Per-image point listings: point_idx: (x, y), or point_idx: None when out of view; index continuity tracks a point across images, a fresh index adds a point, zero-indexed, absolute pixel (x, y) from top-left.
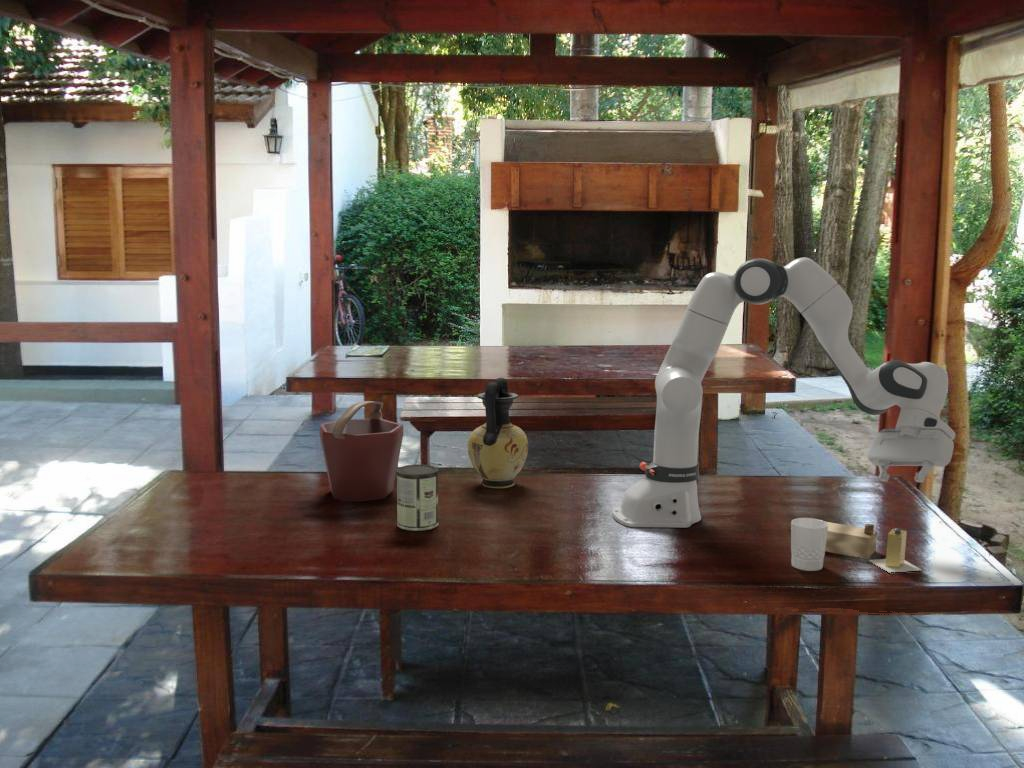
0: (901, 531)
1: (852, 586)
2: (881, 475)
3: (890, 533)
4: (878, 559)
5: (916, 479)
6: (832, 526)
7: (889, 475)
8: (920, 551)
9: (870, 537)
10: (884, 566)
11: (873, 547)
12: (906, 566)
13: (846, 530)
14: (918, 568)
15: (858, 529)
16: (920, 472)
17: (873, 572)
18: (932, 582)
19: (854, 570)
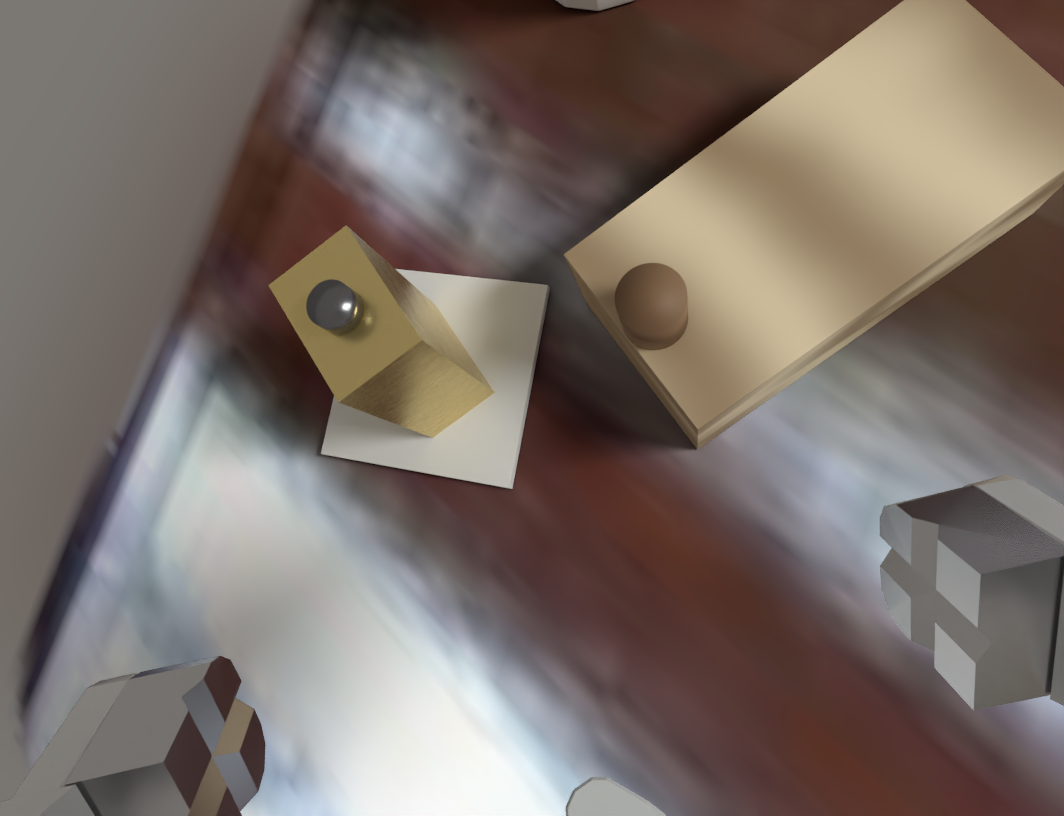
0: (346, 356)
1: (309, 16)
2: (994, 508)
3: (342, 246)
4: (535, 339)
5: (178, 669)
6: (903, 159)
7: (969, 700)
8: (600, 738)
9: (585, 284)
10: (433, 297)
11: (656, 390)
12: None
13: (772, 203)
14: (341, 453)
15: (769, 307)
16: (33, 794)
17: (411, 209)
18: (201, 395)
19: (468, 135)
